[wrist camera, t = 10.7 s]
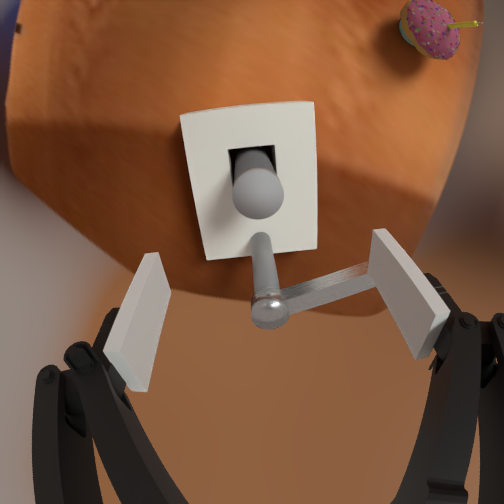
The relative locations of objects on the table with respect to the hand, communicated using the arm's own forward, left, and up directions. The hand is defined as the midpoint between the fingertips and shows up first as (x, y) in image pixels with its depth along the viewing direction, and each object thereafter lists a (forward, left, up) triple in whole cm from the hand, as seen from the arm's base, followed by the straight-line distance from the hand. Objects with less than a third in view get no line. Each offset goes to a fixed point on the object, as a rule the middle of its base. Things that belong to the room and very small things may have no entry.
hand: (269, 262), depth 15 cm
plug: (0, 0, -22) cm, 22 cm away
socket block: (+2, 0, -22) cm, 22 cm away
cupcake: (-18, +23, -22) cm, 37 cm away
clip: (+8, +6, -9) cm, 13 cm away
